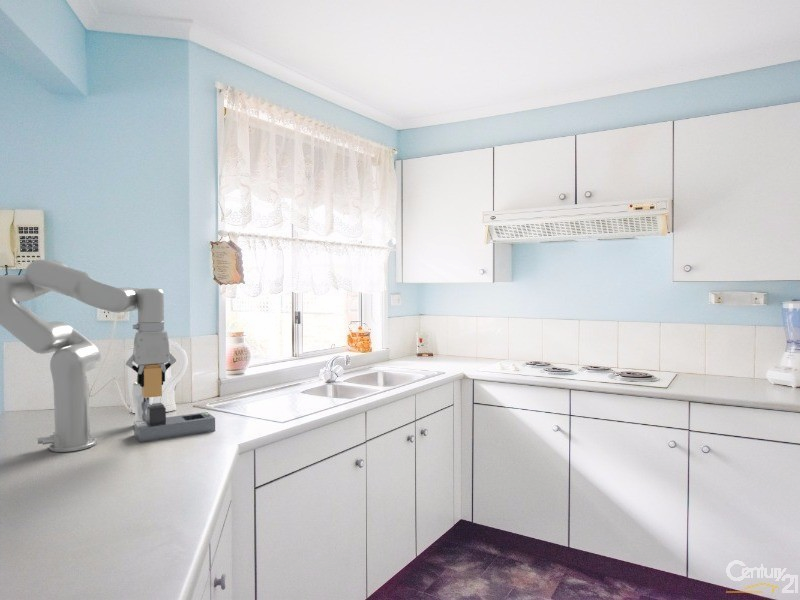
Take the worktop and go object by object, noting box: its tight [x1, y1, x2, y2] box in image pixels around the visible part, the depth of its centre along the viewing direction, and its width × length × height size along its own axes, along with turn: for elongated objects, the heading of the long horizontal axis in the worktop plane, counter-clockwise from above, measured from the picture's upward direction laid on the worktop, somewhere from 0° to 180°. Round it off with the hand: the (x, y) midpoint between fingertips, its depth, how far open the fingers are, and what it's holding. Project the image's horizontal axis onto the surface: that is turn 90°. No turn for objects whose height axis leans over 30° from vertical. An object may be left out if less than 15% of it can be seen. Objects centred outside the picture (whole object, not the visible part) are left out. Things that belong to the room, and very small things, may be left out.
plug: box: [142, 364, 163, 398], centre depth 176 cm, size 5×5×10 cm
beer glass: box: [131, 382, 155, 422], centre depth 200 cm, size 7×7×15 cm
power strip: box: [133, 402, 216, 443], centre depth 190 cm, size 24×10×10 cm, turn 125°
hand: (151, 384), depth 176 cm, fingers closed on plug, 5 cm apart
